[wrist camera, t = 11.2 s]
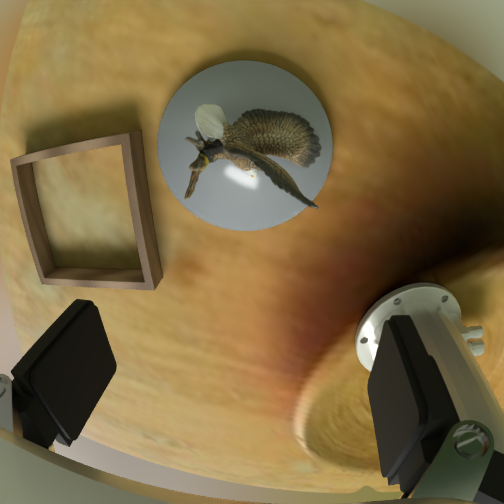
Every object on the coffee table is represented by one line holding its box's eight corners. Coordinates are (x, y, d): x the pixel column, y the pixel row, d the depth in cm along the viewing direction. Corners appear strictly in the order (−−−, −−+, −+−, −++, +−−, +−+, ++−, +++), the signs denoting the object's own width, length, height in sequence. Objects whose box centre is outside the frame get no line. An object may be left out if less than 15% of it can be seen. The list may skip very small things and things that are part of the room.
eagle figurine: (204, 214, 25) (318, 224, 23) (162, 184, 19) (314, 193, 16) (220, 130, 26) (326, 133, 24) (188, 82, 19) (323, 79, 17)
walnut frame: (141, 130, 25) (128, 133, 23) (163, 276, 31) (154, 290, 29) (25, 154, 26) (10, 159, 24) (53, 273, 32) (41, 284, 30)
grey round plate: (328, 61, 21) (330, 59, 20) (328, 226, 27) (330, 230, 26) (155, 72, 23) (151, 71, 22) (171, 228, 29) (167, 232, 28)
